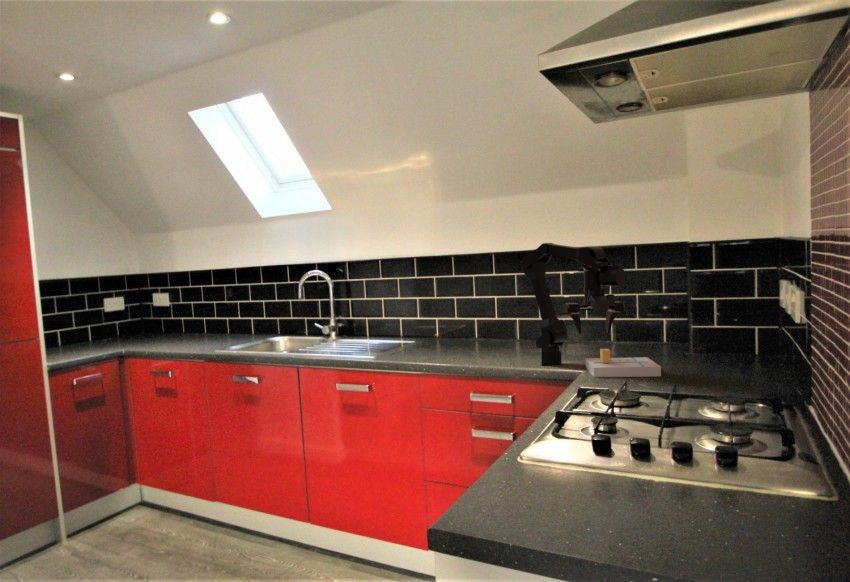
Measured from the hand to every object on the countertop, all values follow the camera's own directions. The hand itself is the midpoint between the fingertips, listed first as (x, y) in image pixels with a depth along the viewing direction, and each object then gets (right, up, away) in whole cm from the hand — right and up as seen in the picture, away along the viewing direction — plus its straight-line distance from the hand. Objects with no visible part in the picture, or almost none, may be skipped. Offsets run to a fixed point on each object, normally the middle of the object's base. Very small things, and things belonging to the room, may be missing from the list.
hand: (593, 333), depth 191 cm
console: (+8, -12, -2) cm, 15 cm away
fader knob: (+3, -12, -2) cm, 13 cm away
